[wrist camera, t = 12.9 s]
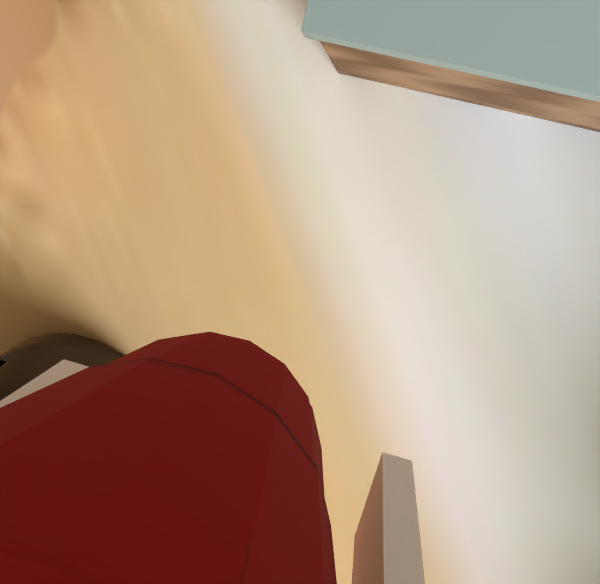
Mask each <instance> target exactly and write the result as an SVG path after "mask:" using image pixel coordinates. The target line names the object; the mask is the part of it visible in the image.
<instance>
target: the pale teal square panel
mask: <svg viewBox="0 0 600 584" xmlns="http://www.w3.org/2000/svg"><path fill="white" fill-rule="evenodd" d="M301 31H302V33H303V34H304V36H305V37H306V38H310V39H315V40H319V41H324V42H328V43H333V44H337V45H342V46H347V47H351V48H356V49H360V50H365V51H369V52H374V53H378V54H383V55H388V56H392V57H397V58H401V59H406V60H410V61H415V62H419V63H424V64H429V65H433V66H438V67H442V68H447V69H451V70H456V71H460V72H465V73H470V74H474V75H479V76H483V77H488V78H492V79H497V80H501V81H506V82H511V83H515V84H520V85H524V86H529V87H533V88H538V89H542V90H547V91H551V92H556V93H561V94H565V95H570V96H574V97H579V98H583V99H588V100H592V101H597V102H600V0H308V1H307V6H306V11H305V15H304V20H303V25H302V30H301Z"/></svg>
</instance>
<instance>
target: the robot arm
mask: <svg viewBox="0 0 600 584" xmlns="http://www.w3.org/2000/svg"><path fill="white" fill-rule="evenodd" d="M120 357H123V356H122V355H120V354H119V353H117V352H116V351H114V350H113V349H111V348H109V347H107V346H105V345H103V344H101V343H99V342H97V341H94V340H91V339H88V338H85V337H81V336H77V335H70V334H49V335H43V336H38V337H35V338H32V339H30V340H27V341H26V342H24V343H22V344H20V345H18V346H16V347H14V348H12V349H11V350H9V351H7V352H5V353H3V354H2V355H0V408H1V407H3V406H5V405H7V404H9V403H12V402H14V401H16V400H18V399H20V398H22V397H25V396H27V395H29V394H31V393H33V392H35V391H38V390H40V389H42V388H44V387H46V386H48V385H51V384H53V383H55V382H57V381H59V380H62V379H64V378H66V377H68V376H70V375H72V374H75V373H77V372H79V371H81V370H83V369H85V368H88V367H90V366H97V365H104V364H108V363H110V362H112V361H114V360H116V359H118V358H120ZM352 584H425V580H424V571H423V561H422V552H421V542H420V533H419V523H418V514H417V504H416V495H415V485H414V476H413V467H412V461H410V460H407V459H403V458H400V457H397V456H393V455H390V454H386V453H383V452H382V455H381V458H380V461H379V464H378V467H377V470H376V473H375V476H374V479H373V482H372V486H371V489H370V492H369V495H368V498H367V501H366V504H365V507H364V510H363V513H362V516H361V519H360V522H359V525H358V528H357V531H356V534H355V541H354V557H353V573H352Z"/></svg>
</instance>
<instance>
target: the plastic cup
mask: <svg viewBox="0 0 600 584" xmlns="http://www.w3.org/2000/svg"><path fill="white" fill-rule="evenodd" d="M0 584H337V582H336V572H335V562H334V552H333V542H332V532H331V524H330V520H329V515H328V511H327V507H326V502H325V498H324V484H323V467H322V450H321V444H320V440H319V435H318V431H317V427H316V422H315V418H314V413H313V409H312V406H311V405H310V402H309V398H308V396H307V395H306V393H305V392H304V390H303V389H302V388H301V386H300V385H299V383H298V382H297V381H296V379H295V378H294V376H293V375H292V374H291V372H290V371H289V369H288V368H287V367H286V365H285V364H284V363H282V362H281V361H279V360H278V359H276V358H275V357H273V356H272V355H270V354H269V353H267V352H266V351H264V350H263V349H261V348H260V347H258V346H257V345H255V344H254V343H252V342H251V341H248V340H243V339H239V338H235V337H231V336H226V335H222V334H218V333H213V332H205V333H198V334H192V335H186V336H179V337H173V338H167V339H160V340H157V341H155V342H152V343H150V344H148V345H146V346H144V347H142V348H140V349H137V350H135V351H133V352H131V353H129V354H127V355H125V356H123V357H120V358H118V359H116V360H114V361H112V362H110V363H108V364H104V365H97V366H90V367H88V368H85V369H83V370H81V371H79V372H77V373H75V374H72V375H70V376H68V377H66V378H64V379H62V380H59V381H57V382H55V383H53V384H51V385H48V386H46V387H44V388H42V389H40V390H38V391H35V392H33V393H31V394H29V395H27V396H25V397H22V398H20V399H18V400H16V401H14V402H12V403H9V404H7V405H5V406H3V407H1V408H0Z"/></svg>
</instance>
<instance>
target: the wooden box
mask: <svg viewBox="0 0 600 584" xmlns="http://www.w3.org/2000/svg"><path fill="white" fill-rule="evenodd" d="M321 43H322V45H323V47H324V48H325V50H326V52H327V54H328V55H329V57H330V59H331V61H332V63H333V64H334V66H335V68H336V70H337V71H338V73H341V74H345V75H350V76H354V77H358V78H363V79H367V80H372V81H376V82H381V83H385V84H390V85H394V86H398V87H403V88H407V89H412V90H416V91H421V92H425V93H430V94H434V95H438V96H443V97H447V98H452V99H456V100H461V101H465V102H469V103H474V104H478V105H483V106H487V107H492V108H496V109H501V110H505V111H509V112H514V113H518V114H523V115H527V116H532V117H536V118H541V119H545V120H549V121H554V122H558V123H563V124H567V125H572V126H576V127H581V128H585V129H589V130H594V131H598V132H600V102H597V101H592V100H588V99H583V98H579V97H574V96H570V95H565V94H561V93H556V92H551V91H547V90H542V89H538V88H533V87H529V86H524V85H520V84H515V83H511V82H506V81H501V80H497V79H492V78H488V77H483V76H479V75H474V74H470V73H465V72H460V71H456V70H451V69H447V68H442V67H438V66H433V65H429V64H424V63H419V62H415V61H410V60H406V59H401V58H397V57H392V56H388V55H383V54H378V53H374V52H369V51H365V50H360V49H356V48H351V47H347V46H342V45H337V44H333V43H328V42H324V41H321Z"/></svg>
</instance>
